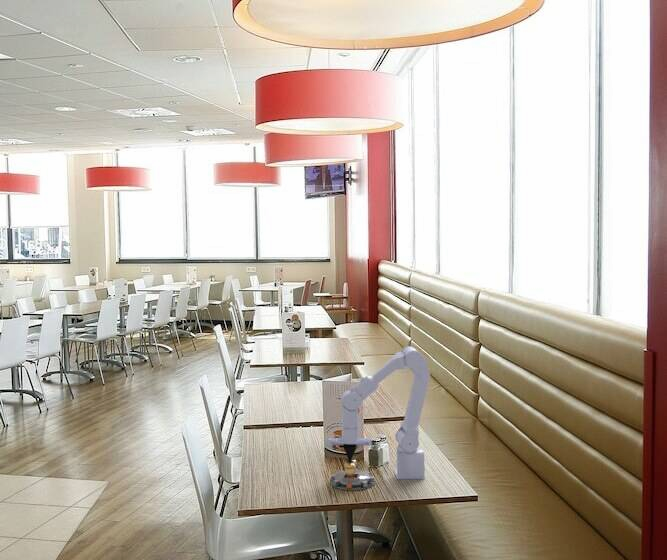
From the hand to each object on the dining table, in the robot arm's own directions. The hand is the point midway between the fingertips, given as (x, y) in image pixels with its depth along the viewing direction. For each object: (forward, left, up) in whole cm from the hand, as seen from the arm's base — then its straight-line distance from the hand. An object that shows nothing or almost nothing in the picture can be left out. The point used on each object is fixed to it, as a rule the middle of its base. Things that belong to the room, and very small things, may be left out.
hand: (349, 465), depth 247 cm
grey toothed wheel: (-1, +4, -4) cm, 6 cm away
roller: (0, +7, -2) cm, 7 cm away
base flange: (-1, +4, -4) cm, 6 cm away
